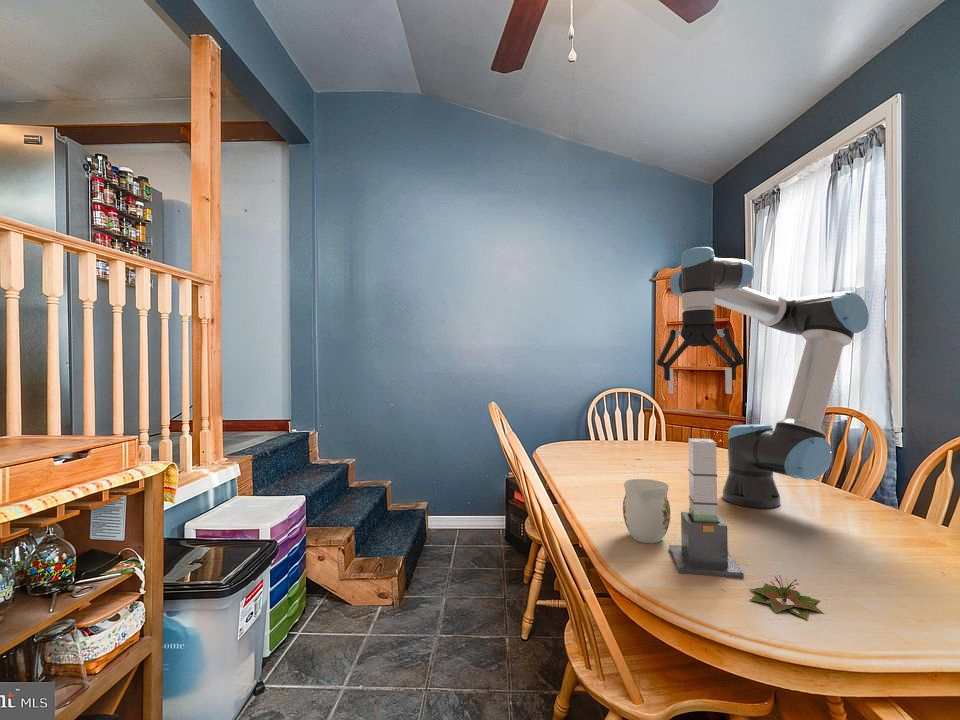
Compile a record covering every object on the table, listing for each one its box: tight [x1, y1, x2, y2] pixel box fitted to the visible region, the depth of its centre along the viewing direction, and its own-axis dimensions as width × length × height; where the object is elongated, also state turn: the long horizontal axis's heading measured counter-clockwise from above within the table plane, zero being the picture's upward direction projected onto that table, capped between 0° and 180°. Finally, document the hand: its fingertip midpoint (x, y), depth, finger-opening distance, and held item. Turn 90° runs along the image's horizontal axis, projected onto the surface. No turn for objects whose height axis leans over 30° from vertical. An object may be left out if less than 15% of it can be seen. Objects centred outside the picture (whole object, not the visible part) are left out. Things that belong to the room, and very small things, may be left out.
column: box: [687, 438, 719, 524], centre depth 100 cm, size 5×5×18 cm
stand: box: [668, 511, 745, 579], centre depth 100 cm, size 12×12×10 cm
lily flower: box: [748, 574, 825, 621], centre depth 84 cm, size 12×12×5 cm
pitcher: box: [622, 478, 671, 544], centre depth 115 cm, size 11×18×14 cm, turn 155°
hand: (699, 393), depth 119 cm, fingers open, 13 cm apart
